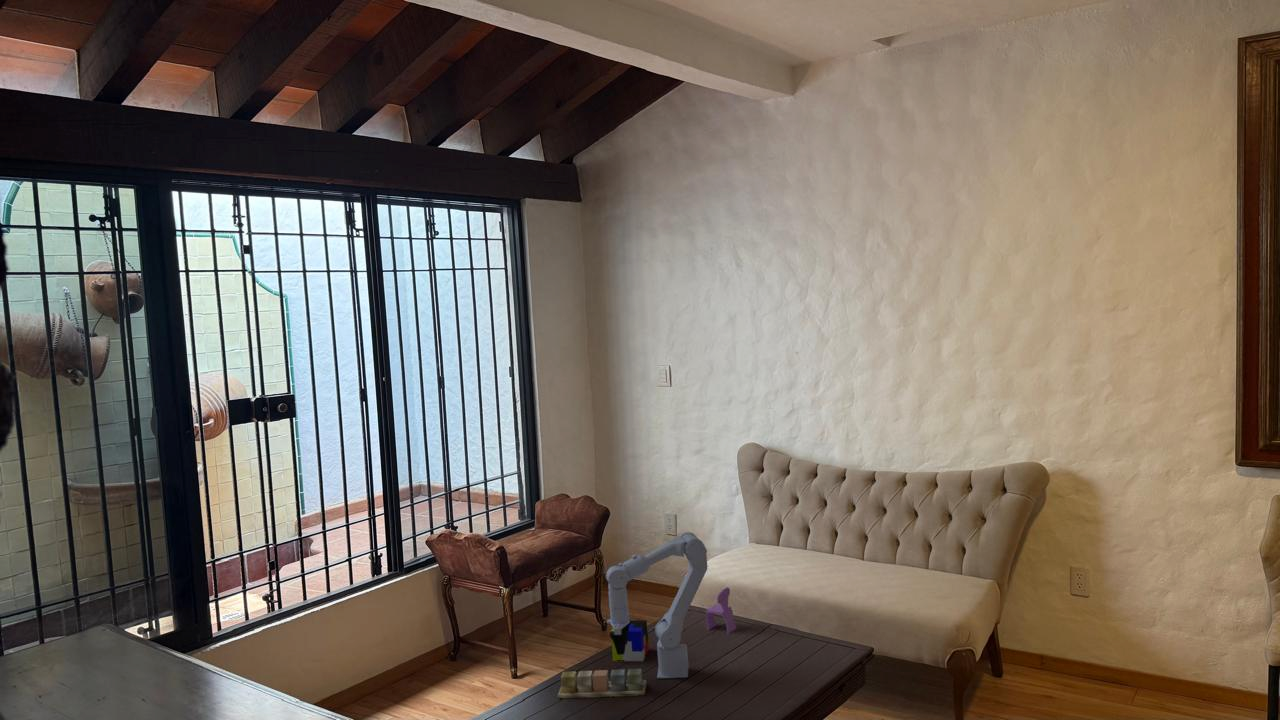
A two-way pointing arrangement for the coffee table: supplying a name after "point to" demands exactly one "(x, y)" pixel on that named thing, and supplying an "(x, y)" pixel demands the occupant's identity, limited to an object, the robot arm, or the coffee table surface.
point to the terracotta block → (601, 681)
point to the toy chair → (721, 611)
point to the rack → (616, 685)
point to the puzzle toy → (634, 642)
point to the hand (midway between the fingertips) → (622, 649)
